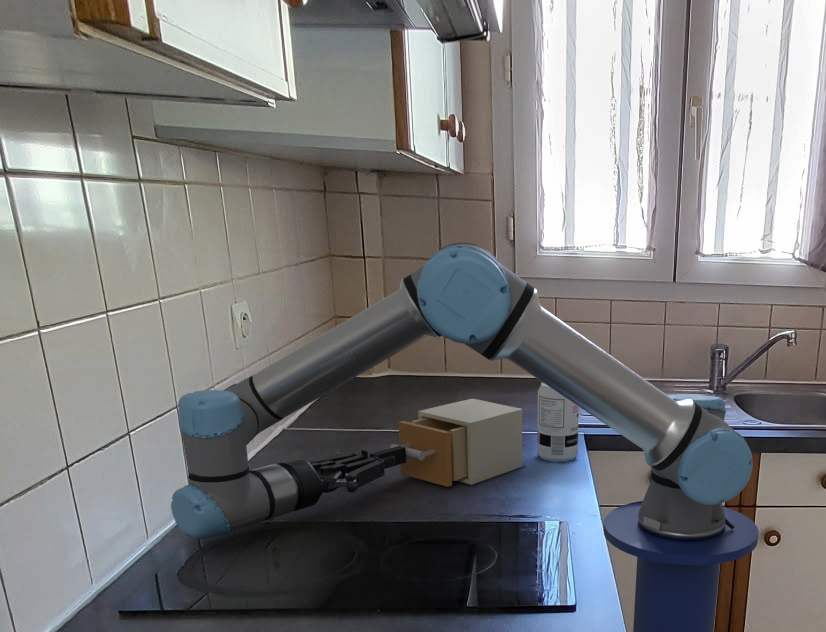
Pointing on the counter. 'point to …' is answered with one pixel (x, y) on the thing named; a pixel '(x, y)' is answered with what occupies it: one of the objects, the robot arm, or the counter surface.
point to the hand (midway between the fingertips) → (402, 454)
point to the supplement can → (556, 426)
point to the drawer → (434, 450)
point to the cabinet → (485, 435)
